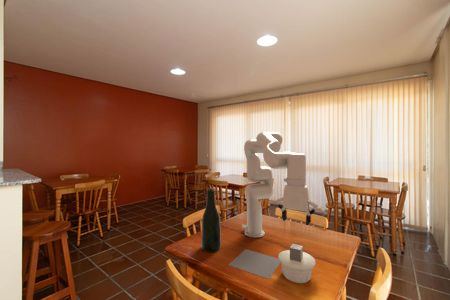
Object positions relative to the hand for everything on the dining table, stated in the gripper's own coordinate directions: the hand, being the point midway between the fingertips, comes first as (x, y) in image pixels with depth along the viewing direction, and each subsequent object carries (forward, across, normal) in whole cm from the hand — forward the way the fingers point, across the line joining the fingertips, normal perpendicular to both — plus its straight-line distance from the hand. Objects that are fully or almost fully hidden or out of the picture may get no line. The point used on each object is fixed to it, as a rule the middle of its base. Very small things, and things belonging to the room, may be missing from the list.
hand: (295, 221), depth 92 cm
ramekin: (+24, 0, 0) cm, 24 cm away
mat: (+23, -19, 0) cm, 30 cm away
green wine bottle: (+24, -46, +1) cm, 51 cm away
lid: (+16, 0, 0) cm, 16 cm away
